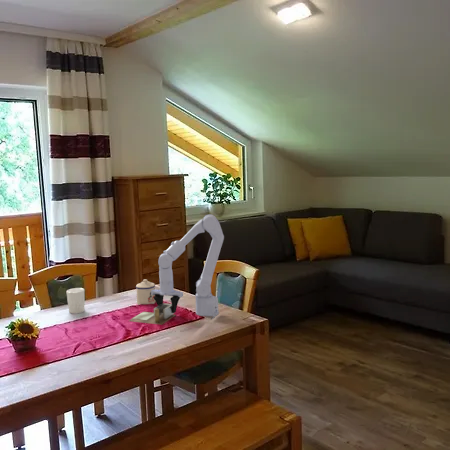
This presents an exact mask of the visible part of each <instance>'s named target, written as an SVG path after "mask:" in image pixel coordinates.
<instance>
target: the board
mask: <svg viewBox="0 0 450 450" xmlns="http://www.w3.org/2000/svg"><path fill="white" fill-rule="evenodd" d="M174 317H176V314H172V315H171V316H169V317H168V318H167V319H163V314H162V315H160V316H159V309H158V308H157V309H155V318H154V311H152V312H151V311H142V312H141V313H139V314H137V315H135V316H134V317H132V318H131V319H129V320H128V322H133V323H134V322H135V323H143V324H153V325H164V324H166V323H167V322H168V321H170V320H171V319H173V318H174Z"/></svg>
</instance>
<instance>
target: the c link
mask: <svg viewBox="0 0 450 450" xmlns="http://www.w3.org/2000/svg"><path fill="white" fill-rule="evenodd" d="M157 308H158V309H159V316H160V315H162V314H163V319H167V318H168V317H169V316H171V315H172V314H173V315H175V313H172V304H171V303H164V302H163V303H162V304H160V305H159V306H158V305H157V306H155V307H154V308H153V313H154V318H155V309H157Z"/></svg>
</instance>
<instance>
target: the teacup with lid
mask: <svg viewBox="0 0 450 450" xmlns="http://www.w3.org/2000/svg"><path fill="white" fill-rule="evenodd" d="M135 289H136V304H137V305H138V306H139V305H150V304H151V305H154V304H156V301H155V300H154V296H155V295H151V290H156V284H155V283H154V282H151V281H148V279H143V280H142V281H141V282H140V283H137V284H136V286H135Z"/></svg>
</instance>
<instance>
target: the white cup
mask: <svg viewBox="0 0 450 450" xmlns="http://www.w3.org/2000/svg"><path fill="white" fill-rule="evenodd" d="M66 299H67V305H68V312H69V313H70V314H80V313H81V314H82V313H84V311H85V309H86V307H85V304H86V303H85V288H82V287H75V288H70V289H67V290H66Z"/></svg>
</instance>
